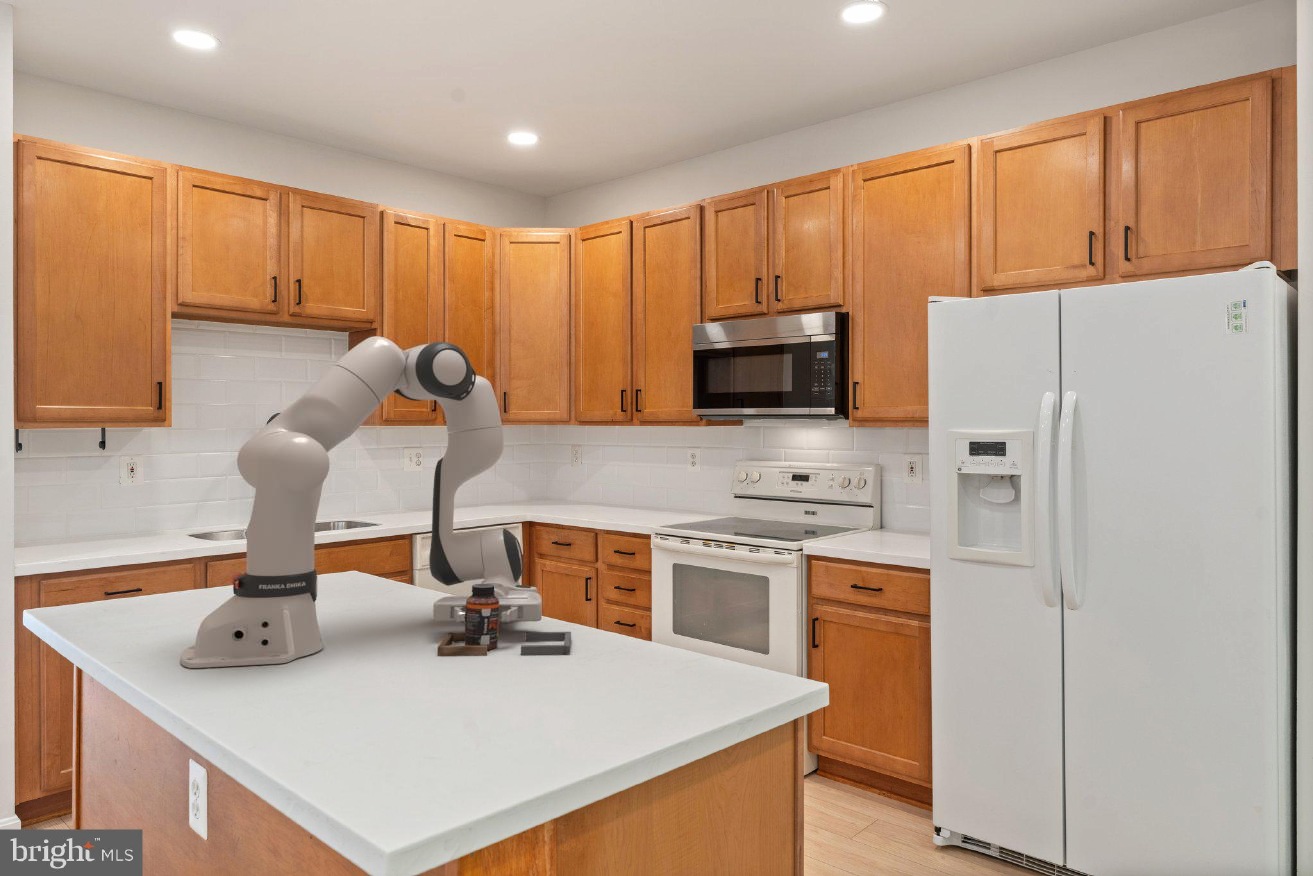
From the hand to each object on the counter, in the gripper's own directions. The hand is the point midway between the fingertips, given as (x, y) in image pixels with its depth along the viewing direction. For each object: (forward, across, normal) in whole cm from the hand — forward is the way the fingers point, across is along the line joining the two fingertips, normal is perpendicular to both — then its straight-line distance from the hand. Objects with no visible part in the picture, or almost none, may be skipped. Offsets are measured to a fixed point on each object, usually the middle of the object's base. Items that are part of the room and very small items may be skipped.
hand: (483, 617), depth 153 cm
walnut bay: (-1, -3, +6) cm, 7 cm away
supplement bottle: (-1, 0, +6) cm, 6 cm away
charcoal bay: (-1, +11, +6) cm, 13 cm away
